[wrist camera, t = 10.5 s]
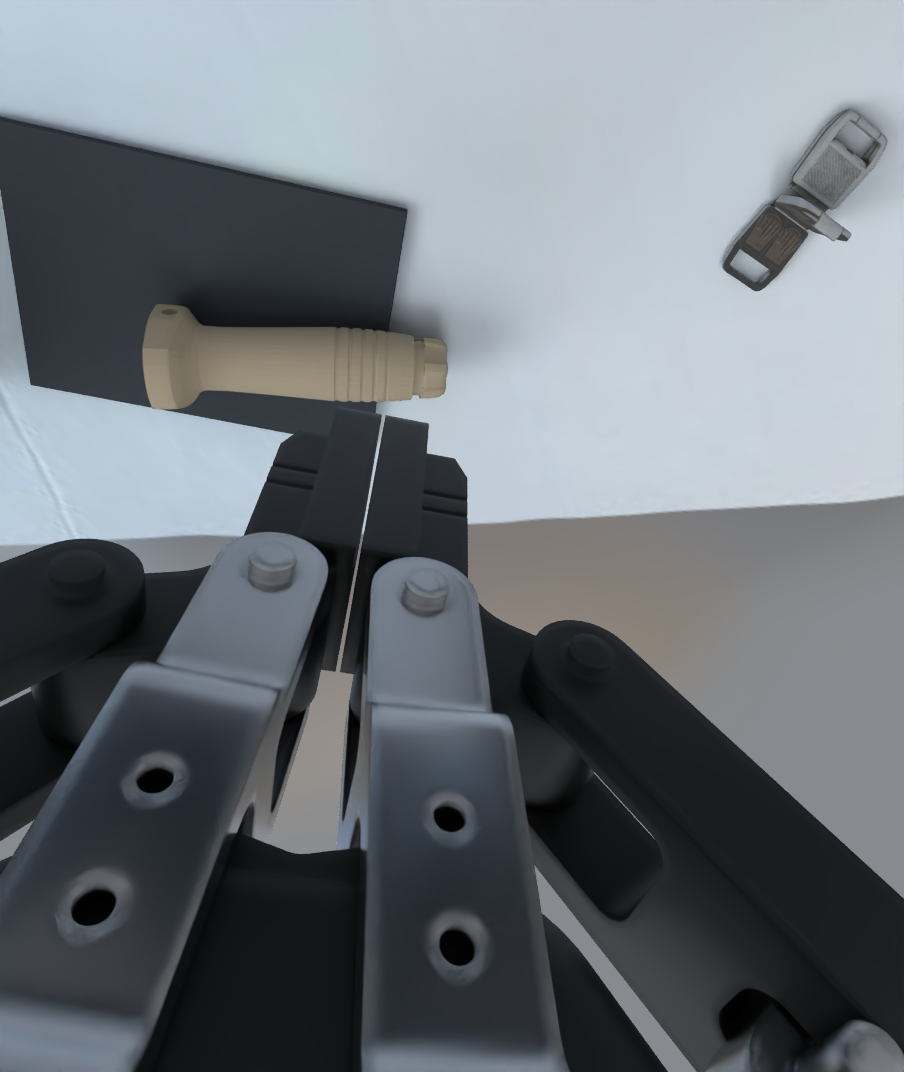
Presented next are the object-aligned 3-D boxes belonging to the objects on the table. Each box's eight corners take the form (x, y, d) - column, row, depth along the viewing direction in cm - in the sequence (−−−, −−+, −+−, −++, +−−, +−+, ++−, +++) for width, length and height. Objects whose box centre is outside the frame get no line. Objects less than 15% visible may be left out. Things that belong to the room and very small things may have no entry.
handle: (446, 437, 39) (152, 427, 37) (436, 383, 44) (177, 371, 42) (455, 353, 36) (137, 336, 34) (443, 304, 41) (165, 288, 39)
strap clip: (841, 101, 34) (883, 114, 30) (886, 139, 35) (932, 155, 31) (715, 263, 38) (739, 289, 35) (757, 292, 39) (785, 321, 36)
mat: (407, 209, 37) (407, 212, 36) (369, 443, 45) (368, 448, 45) (-5, 115, 35) (-12, 117, 34) (35, 380, 43) (30, 385, 42)
